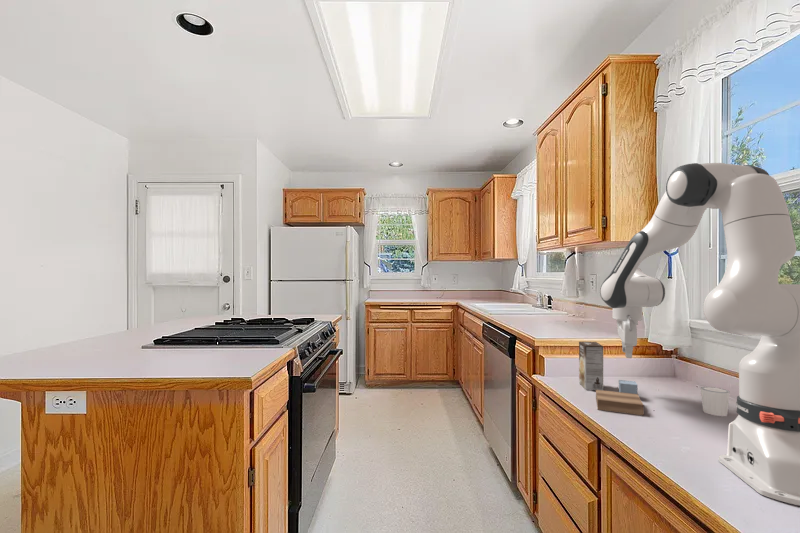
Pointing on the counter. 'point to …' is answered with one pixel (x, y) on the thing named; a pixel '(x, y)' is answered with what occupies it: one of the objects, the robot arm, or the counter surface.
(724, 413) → the white cup
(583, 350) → the coffee box
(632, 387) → the slate block
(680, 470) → the counter surface
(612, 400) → the walnut plinth
